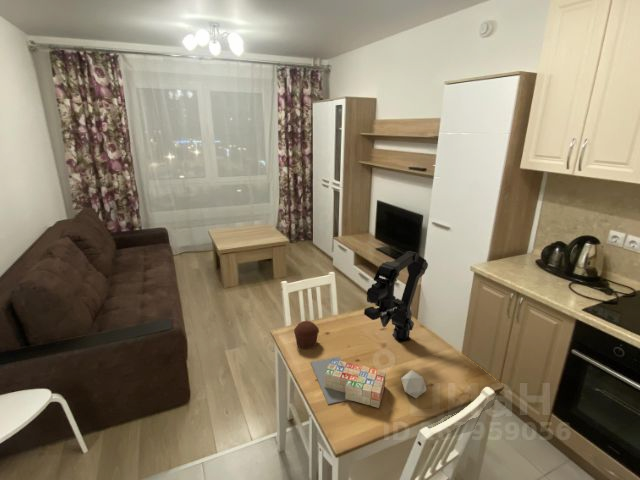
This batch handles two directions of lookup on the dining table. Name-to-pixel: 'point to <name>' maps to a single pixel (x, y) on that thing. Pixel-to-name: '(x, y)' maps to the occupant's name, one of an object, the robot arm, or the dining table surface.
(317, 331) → the muffin
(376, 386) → the stack of blocks
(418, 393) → the die
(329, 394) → the mat
